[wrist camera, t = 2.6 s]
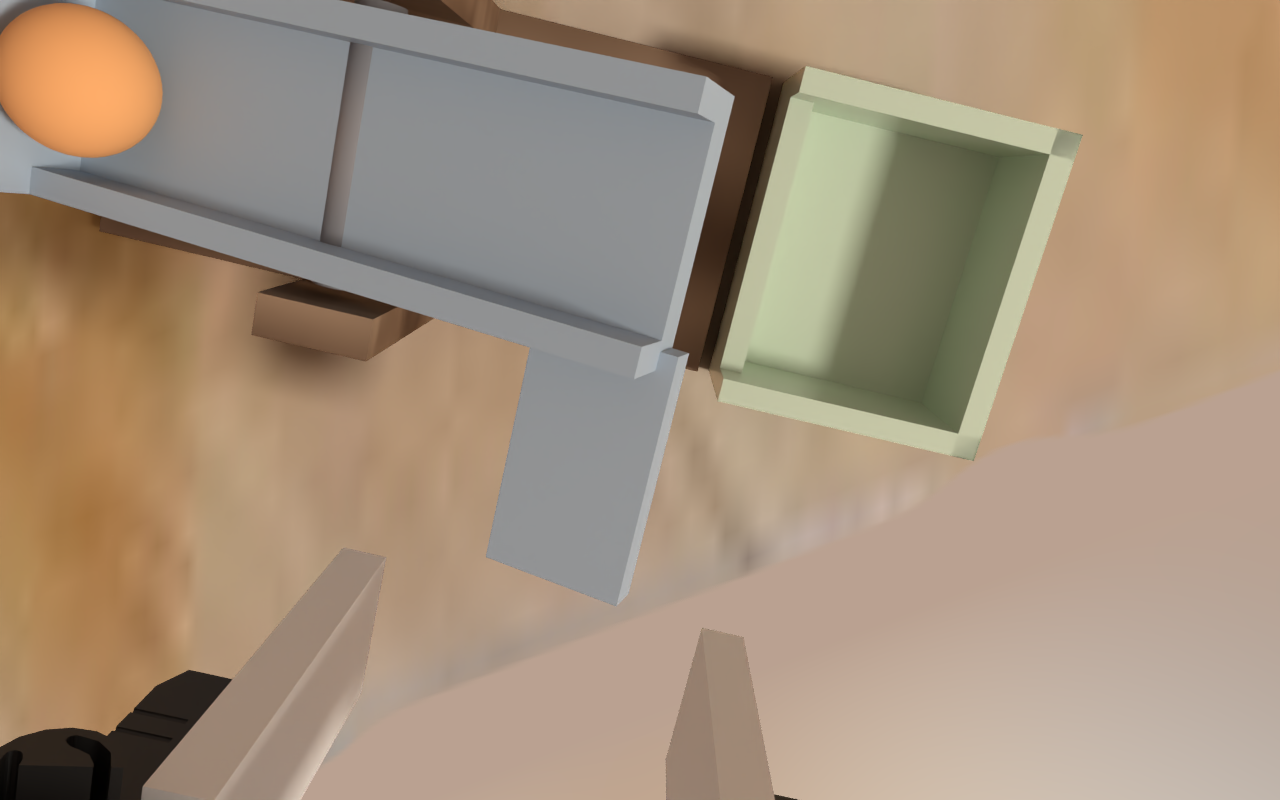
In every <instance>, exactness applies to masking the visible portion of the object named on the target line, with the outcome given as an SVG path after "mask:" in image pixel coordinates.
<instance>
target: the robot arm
mask: <svg viewBox="0 0 1280 800" xmlns="http://www.w3.org/2000/svg"><path fill="white" fill-rule="evenodd" d="M385 561H386V557H383V556H379V555H374V554H370V553H365V552H361V551H356V550H352V549H347V548H343V549H342V550H341V551H340V552H339V554H338V555H337V556H336V557H335V558H334V560H333V561H332V562H331V563H330V564H329V565H328V567H327V568H326V569H325V570H324V571H323V573H322V574H321V575H320V576H319V577H318V579H317V580H316V581H315V582H314V583H313V584H312V586H311V587H310V588H309V589H308V590H307V592H306V593H305V594H304V595H303V596H302V598H301V599H300V600H299V601H298V602H297V603H296V605H295V606H294V607H293V608H292V609H291V611H290V612H289V613H288V614H287V615H286V617H285V618H284V619H283V620H282V621H281V623H280V624H279V625H278V626H277V627H276V628H275V630H274V631H273V632H272V633H271V634H270V636H269V637H268V638H267V639H266V640H265V642H264V643H263V644H262V645H261V646H260V647H259V649H258V650H257V651H256V652H255V653H254V655H253V656H252V657H251V658H250V659H249V661H248V662H247V663H246V664H245V665H244V666H243V668H242V669H241V670H240V671H239V672H238V674H237V675H236V676H235V677H234V678H233V679H228V678H224V677H219V676H215V675H210V674H205V673H201V672H196V671H192V670H188V671H186V672H184V673H182V674H180V675H178V676H176V677H174V678H172V679H170V680H167V681H165V682H163V683H161V684H159V685H157V686H156V687H155V688H154V689H153V690H152V691H151V692H150V693H149V694H148V695H147V696H146V697H145V698H144V699H143V700H142V701H141V702H140V703H139V704H138V705H137V706H136V707H135V708H134V711H133V713H131V712H130V713H129V714H128V715H127V716H126V717H125V718H124V719H123V720H122V721H121V722H120V723H119V724H118V725H117V727H116V730H115V731H111V733H110V734H109V735H108V736H105V735H103V734H101V733H99V732H97V731H91V730H84V729H77V728H63V729H49V730H43V731H39V732H36V733H32V734H28V735H25V736H21V737H18V738H16V739H15V740H13V741H11V742H9V743H7V744H5V745H3V746H1V747H0V800H301V798H302V796H303V795H304V793H305V791H306V789H307V788H308V786H309V784H310V782H311V780H312V779H313V777H314V775H315V773H316V772H317V770H318V768H319V766H320V765H321V763H322V761H323V759H324V758H325V756H326V754H327V752H328V751H329V749H330V747H331V745H332V744H333V742H334V740H335V738H336V737H337V735H338V733H339V731H340V730H341V728H342V726H343V724H344V723H345V721H346V719H347V717H348V716H349V714H350V712H351V710H352V708H353V707H354V705H355V703H356V701H357V700H358V698H359V696H360V694H361V691H362V686H363V680H364V675H365V669H366V664H367V658H368V653H369V648H370V642H371V637H372V631H373V626H374V621H375V615H376V610H377V604H378V599H379V593H380V588H381V583H382V577H383V572H384V566H385ZM666 800H797V799H793V798H788V797H783V796H779V795H774V792H773V788H772V782H771V777H770V772H769V767H768V761H767V756H766V751H765V746H764V741H763V736H762V731H761V725H760V720H759V715H758V710H757V705H756V700H755V695H754V689H753V684H752V680H751V674H750V669H749V664H748V659H747V654H746V648H745V644H744V638H743V637H740V636H736V635H731V634H727V633H722V632H718V631H713V630H709V629H704V628H702V630H701V633H700V637H699V641H698V644H697V648H696V652H695V656H694V659H693V662H692V667H691V669H690V673H689V677H688V681H687V684H686V688H685V691H684V695H683V699H682V702H681V706H680V710H679V713H678V717H677V721H676V724H675V728H674V731H673V735H672V739H671V742H670V746H669V750H668V753H667V757H666Z"/></svg>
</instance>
